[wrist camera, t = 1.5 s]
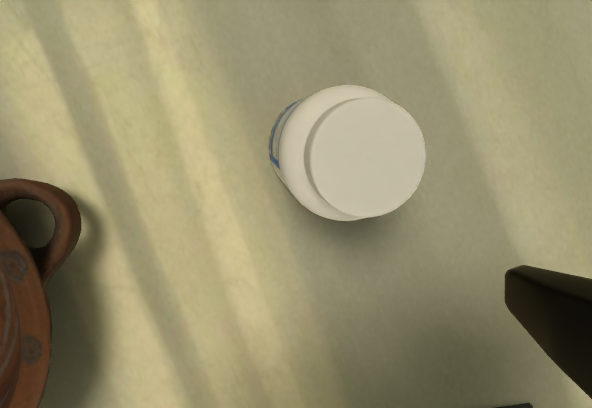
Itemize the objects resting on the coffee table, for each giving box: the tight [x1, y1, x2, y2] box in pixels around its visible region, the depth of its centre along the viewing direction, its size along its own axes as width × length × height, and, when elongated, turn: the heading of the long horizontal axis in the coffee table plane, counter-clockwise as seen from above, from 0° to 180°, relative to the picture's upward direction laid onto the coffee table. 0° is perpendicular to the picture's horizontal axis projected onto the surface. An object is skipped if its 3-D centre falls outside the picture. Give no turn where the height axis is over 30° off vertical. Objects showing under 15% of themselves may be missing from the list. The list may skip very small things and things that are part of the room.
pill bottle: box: [269, 85, 426, 221], centre depth 19 cm, size 6×5×10 cm
